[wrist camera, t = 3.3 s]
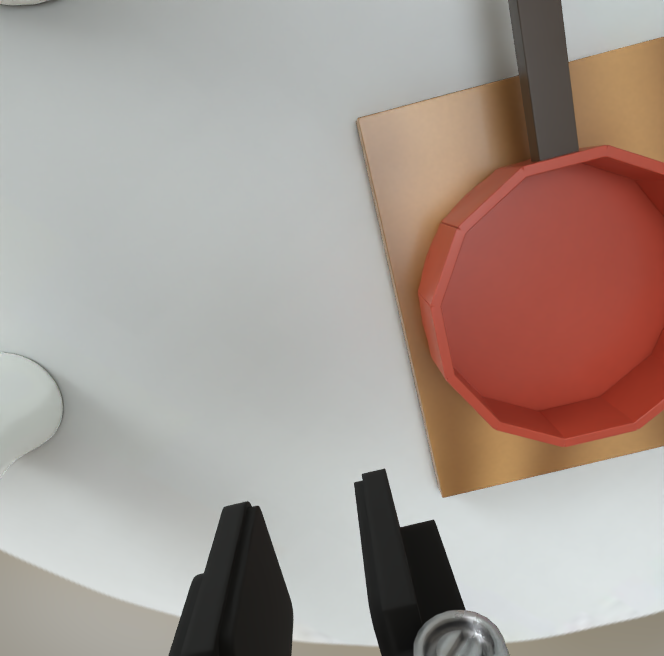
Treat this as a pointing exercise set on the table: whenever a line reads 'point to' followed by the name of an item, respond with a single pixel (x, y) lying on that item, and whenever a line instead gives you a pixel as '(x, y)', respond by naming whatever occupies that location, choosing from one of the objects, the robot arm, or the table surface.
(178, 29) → the table surface
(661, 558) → the table surface
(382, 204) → the board
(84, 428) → the table surface
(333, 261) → the table surface
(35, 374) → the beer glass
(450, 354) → the skillet
